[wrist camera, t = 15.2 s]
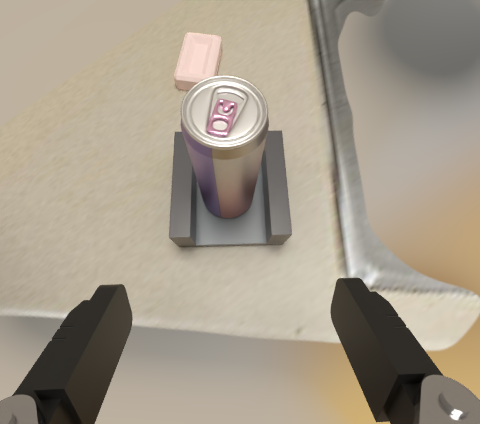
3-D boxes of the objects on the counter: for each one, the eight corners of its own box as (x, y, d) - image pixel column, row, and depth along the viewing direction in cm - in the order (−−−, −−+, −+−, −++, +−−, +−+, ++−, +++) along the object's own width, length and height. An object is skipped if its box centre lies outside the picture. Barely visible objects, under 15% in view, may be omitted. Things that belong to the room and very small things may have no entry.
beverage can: (196, 212, 30) (163, 136, 16) (211, 168, 32) (194, 63, 17) (245, 225, 29) (258, 160, 15) (258, 180, 31) (280, 84, 17)
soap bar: (222, 49, 40) (222, 33, 37) (213, 95, 37) (211, 82, 35) (188, 44, 40) (185, 29, 38) (176, 90, 37) (172, 77, 35)
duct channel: (282, 244, 30) (292, 234, 25) (179, 247, 29) (168, 237, 25) (274, 154, 34) (281, 130, 29) (183, 155, 33) (174, 131, 28)
